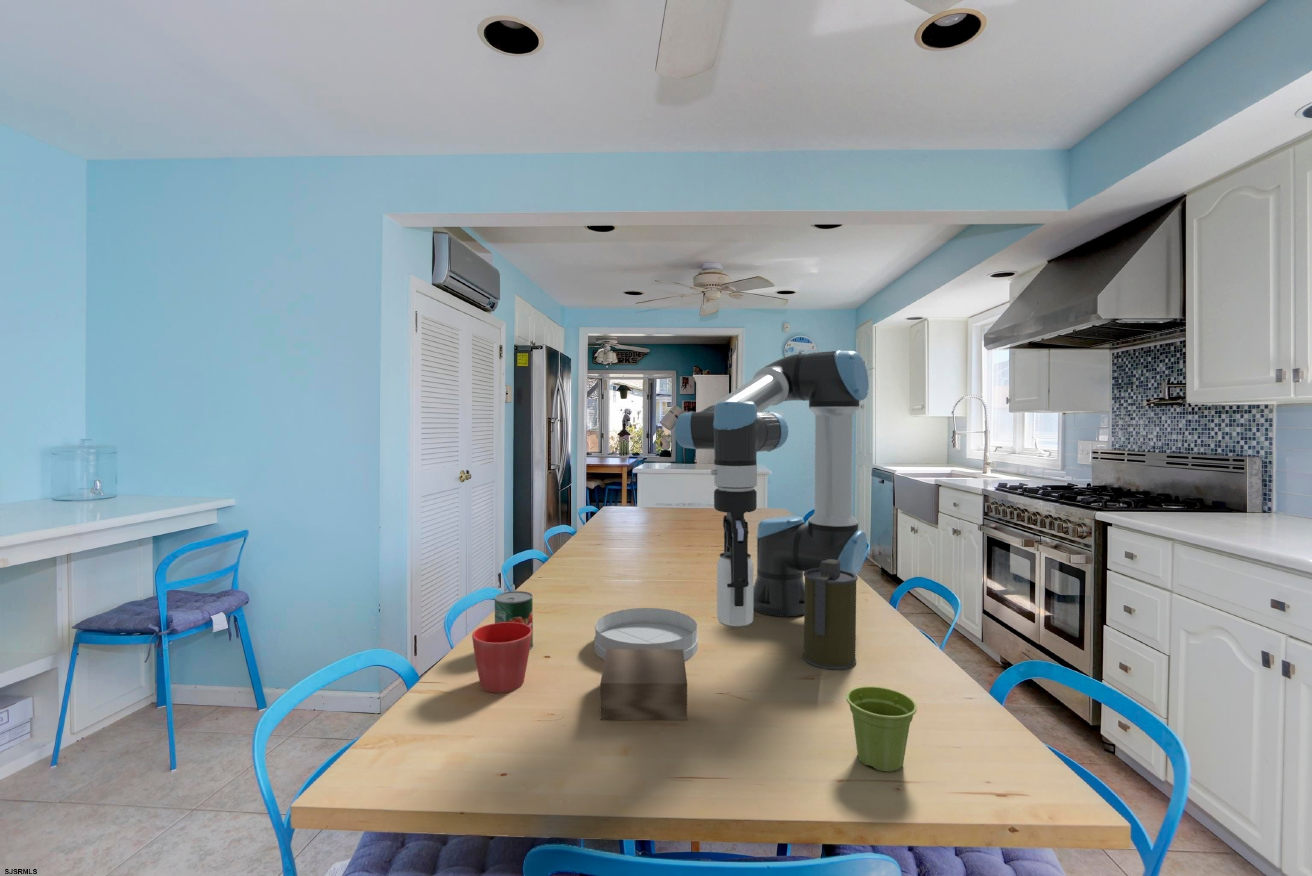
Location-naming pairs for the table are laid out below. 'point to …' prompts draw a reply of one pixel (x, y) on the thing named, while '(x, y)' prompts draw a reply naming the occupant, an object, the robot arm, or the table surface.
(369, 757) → the table surface
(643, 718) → the walnut base
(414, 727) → the table surface
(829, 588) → the canister
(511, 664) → the flower pot
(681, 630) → the dish
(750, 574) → the can
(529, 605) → the canned tomato
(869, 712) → the plant pot
